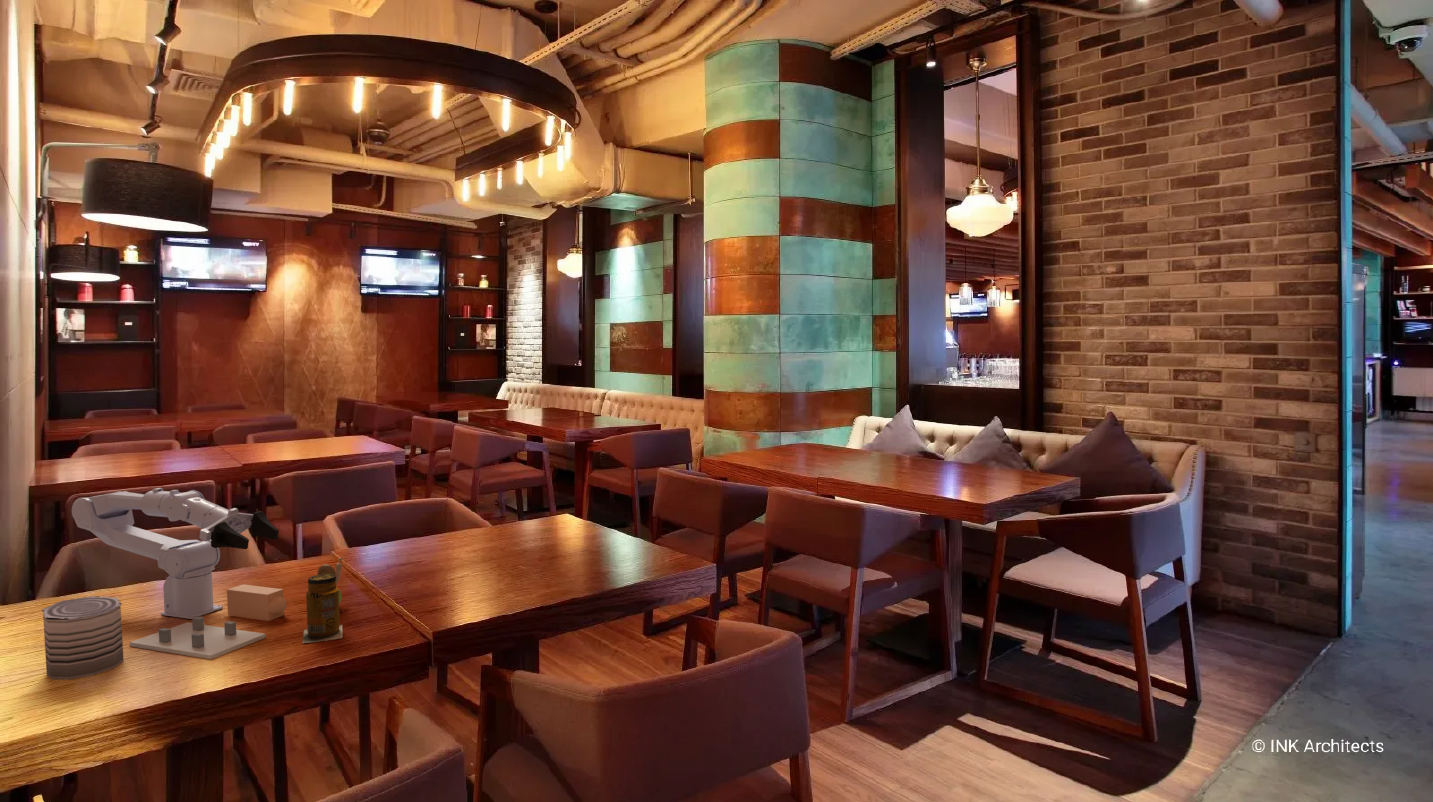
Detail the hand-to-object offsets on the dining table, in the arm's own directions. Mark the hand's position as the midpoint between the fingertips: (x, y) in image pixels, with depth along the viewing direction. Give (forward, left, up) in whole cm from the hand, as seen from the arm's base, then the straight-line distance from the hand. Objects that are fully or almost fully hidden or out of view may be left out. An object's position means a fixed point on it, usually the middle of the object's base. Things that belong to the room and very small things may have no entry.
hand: (262, 539), depth 170 cm
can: (-10, -30, -18) cm, 36 cm away
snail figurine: (+8, +10, -18) cm, 22 cm away
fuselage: (-5, +2, -18) cm, 19 cm away
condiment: (+19, -3, -18) cm, 26 cm away
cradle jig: (-2, -14, -18) cm, 23 cm away
